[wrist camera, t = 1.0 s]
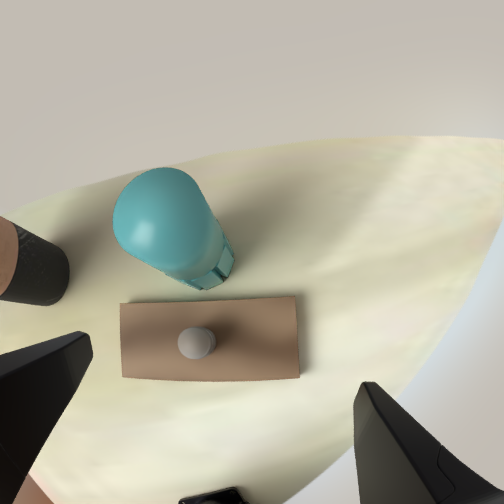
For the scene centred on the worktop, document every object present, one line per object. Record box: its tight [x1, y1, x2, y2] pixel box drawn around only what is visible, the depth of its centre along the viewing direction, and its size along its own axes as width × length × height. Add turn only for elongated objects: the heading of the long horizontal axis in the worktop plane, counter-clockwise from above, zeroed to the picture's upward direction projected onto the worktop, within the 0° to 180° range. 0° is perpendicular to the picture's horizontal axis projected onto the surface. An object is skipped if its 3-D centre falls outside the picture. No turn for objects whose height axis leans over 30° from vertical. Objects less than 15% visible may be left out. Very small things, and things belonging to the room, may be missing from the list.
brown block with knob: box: [120, 296, 300, 382], centre depth 24 cm, size 7×16×4 cm, turn 93°
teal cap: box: [113, 168, 234, 290], centre depth 22 cm, size 6×6×12 cm
